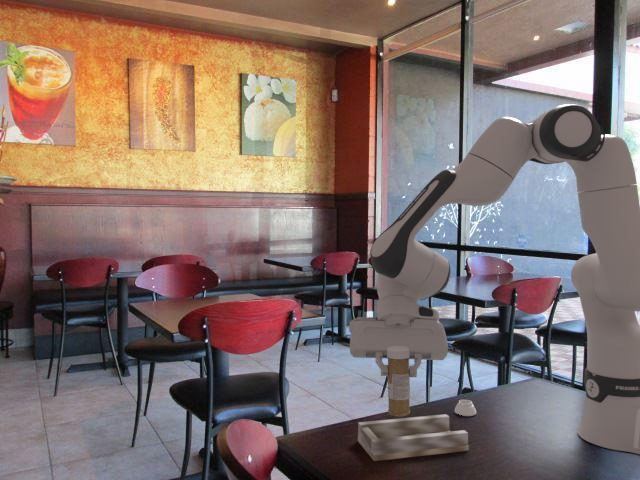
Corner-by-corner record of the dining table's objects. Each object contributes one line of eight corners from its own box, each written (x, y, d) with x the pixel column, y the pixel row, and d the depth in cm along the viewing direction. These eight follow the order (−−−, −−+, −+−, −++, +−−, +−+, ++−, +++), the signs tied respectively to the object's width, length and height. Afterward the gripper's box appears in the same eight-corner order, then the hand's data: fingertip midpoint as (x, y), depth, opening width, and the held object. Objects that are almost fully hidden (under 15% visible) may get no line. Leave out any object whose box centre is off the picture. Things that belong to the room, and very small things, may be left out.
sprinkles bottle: (389, 409, 116) (387, 344, 116) (411, 410, 115) (410, 345, 115) (387, 416, 112) (385, 349, 111) (410, 417, 111) (408, 350, 110)
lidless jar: (471, 419, 130) (479, 413, 134) (472, 406, 130) (479, 400, 134) (451, 414, 133) (459, 408, 137) (451, 402, 133) (459, 397, 137)
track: (445, 431, 122) (445, 413, 122) (468, 450, 112) (468, 430, 112) (357, 440, 117) (357, 422, 117) (374, 461, 107) (374, 440, 107)
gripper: (349, 308, 121) (346, 365, 111) (445, 310, 119) (451, 369, 109) (350, 325, 125) (347, 381, 116) (443, 327, 123) (448, 384, 114)
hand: (398, 375), depth 113 cm, fingers closed on sprinkles bottle, 4 cm apart
